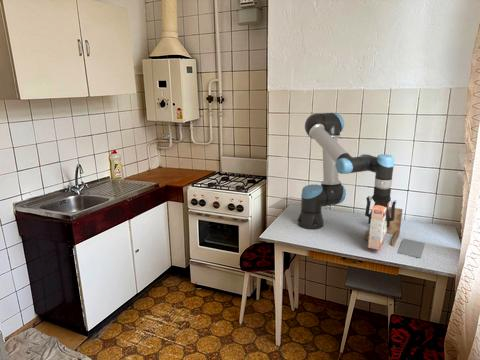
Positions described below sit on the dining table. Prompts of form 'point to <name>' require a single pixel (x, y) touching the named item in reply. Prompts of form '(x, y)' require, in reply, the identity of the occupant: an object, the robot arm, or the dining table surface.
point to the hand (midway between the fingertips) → (378, 231)
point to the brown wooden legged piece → (393, 225)
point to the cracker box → (377, 227)
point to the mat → (411, 248)
